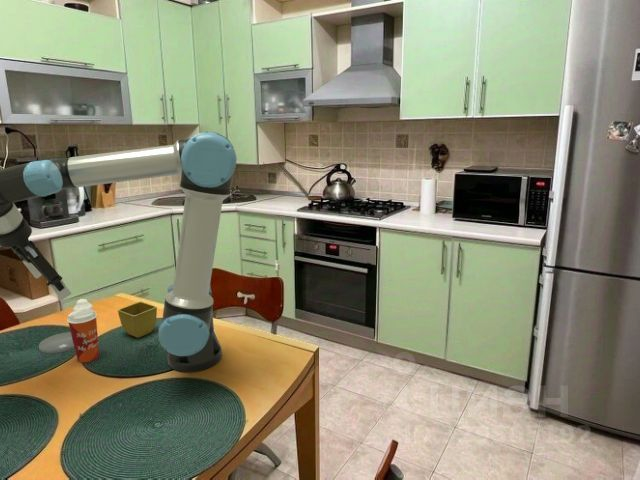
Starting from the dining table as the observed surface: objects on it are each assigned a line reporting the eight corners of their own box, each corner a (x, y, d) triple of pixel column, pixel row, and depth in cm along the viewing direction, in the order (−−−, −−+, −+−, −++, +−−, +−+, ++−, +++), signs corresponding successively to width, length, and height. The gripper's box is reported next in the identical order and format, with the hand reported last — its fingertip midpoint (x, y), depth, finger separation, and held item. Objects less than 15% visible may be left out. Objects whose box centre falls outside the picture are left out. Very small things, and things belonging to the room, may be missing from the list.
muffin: (74, 322, 153) (71, 303, 152) (74, 316, 159) (71, 297, 157) (94, 318, 156) (91, 300, 155) (93, 312, 162) (91, 294, 160)
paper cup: (83, 367, 124) (75, 321, 121) (68, 360, 128) (60, 315, 125) (108, 355, 131) (102, 311, 127) (93, 348, 135) (87, 306, 131)
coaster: (85, 346, 136) (85, 343, 136) (39, 357, 130) (39, 353, 129) (81, 332, 146) (81, 328, 146) (39, 341, 140) (38, 338, 139)
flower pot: (160, 331, 146) (157, 306, 143) (137, 342, 138) (133, 315, 136) (143, 325, 150) (140, 301, 148) (120, 335, 143) (116, 309, 141)
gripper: (-32, 216, 106) (17, 275, 121) (15, 255, 94) (63, 316, 109) (-1, 199, 111) (43, 258, 125) (48, 234, 98) (90, 296, 113)
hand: (53, 285), depth 117 cm, fingers open, 13 cm apart
